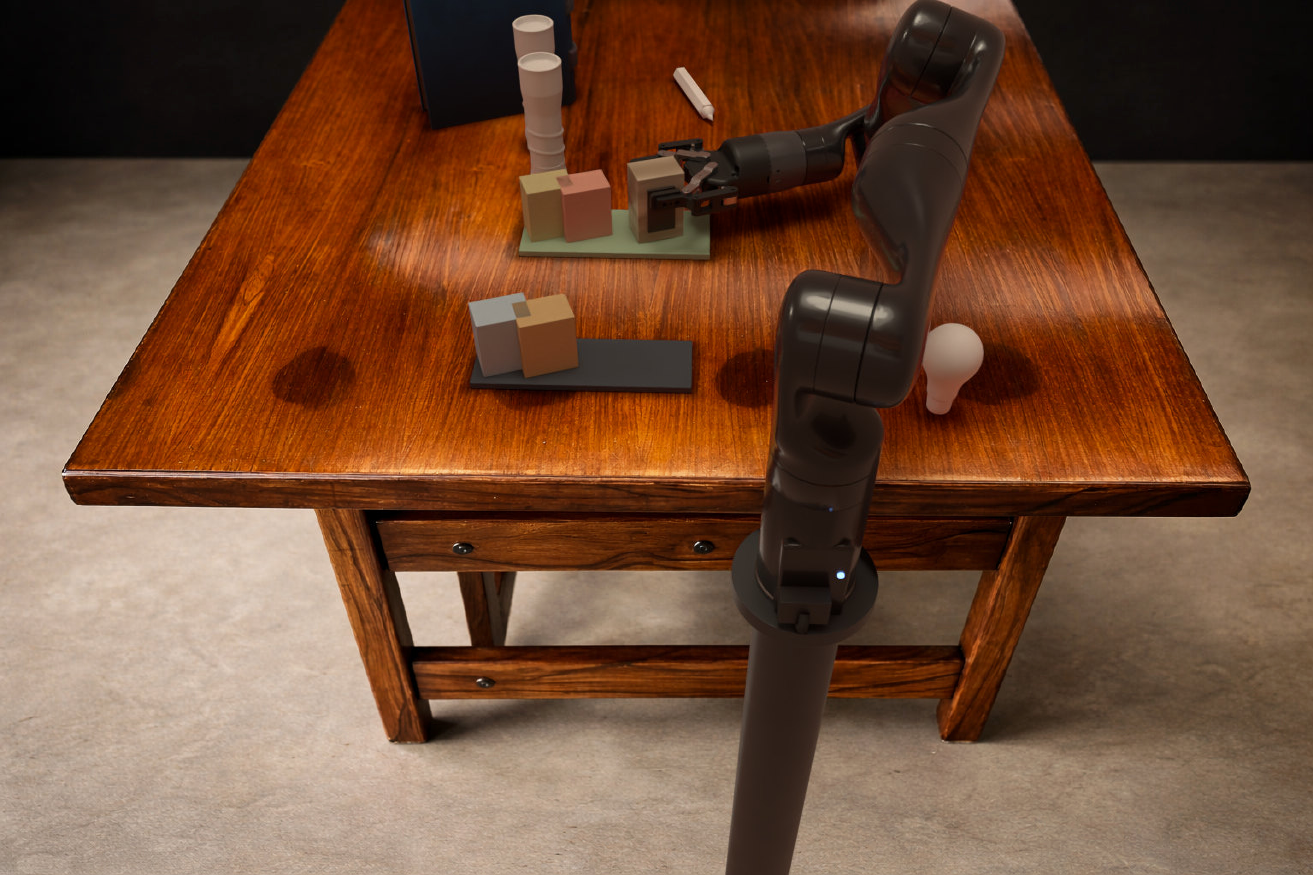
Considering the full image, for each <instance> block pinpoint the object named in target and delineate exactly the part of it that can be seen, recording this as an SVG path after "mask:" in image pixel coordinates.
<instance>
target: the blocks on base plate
mask: <svg viewBox="0 0 1313 875" xmlns="http://www.w3.org/2000/svg"><path fill="white" fill-rule="evenodd" d="M467 305H468V309H469V310H468V311H469V316H470V321H471V328H472V333H473V340H474V346H475V353H476V356H475V360H474V364H473V368H472V372H471V376H470V380H469V386H470V389H490V390H532V391H533V390H535V391H540V390H542V391H574V392H575V391H578V392H579V391H580V392H581V391H582V392H583V391H584V392H619V393H620V392H621V393H623V392H624V393H625V392H627V393H666V394H692V391H693V390H692V385H693V382H692V381H693V377H692V376H693V374H692V373H693V340H672V339H671V340H669V339H625V338H624V339H621V338H619V339H618V338H617V339H616V338H577V327H576V316H575V314H574V311H573V309H572V307H571V305H570V302H569V300H568V298H567V296H566V293H564V292H563V293H558V294H553V295H548V296H542V297H537V298H533V299H532V298H531V299H526V296H525V293H524V292H517V293H512V294H506V295H502V296H497V297H492V298H491V297H490V298H487V299H481V300H475V301H471V302H468V304H467Z"/></svg>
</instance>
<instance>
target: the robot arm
mask: <svg viewBox="0 0 1313 875" xmlns="http://www.w3.org/2000/svg"><path fill="white" fill-rule="evenodd" d="M1006 43H1007V42H1006V37H1005V34H1004V32H1003V31H1002V30H1001V29H1000V27H998V26H997V25H995V24H994V23H993V22H991V21H989V20H987V19H985V18H983V17H980V16H977V15H975V14H974V13H973V14H972V13H970V12H968V11H965V10H964V9H962V8H958V7H957V6H954V5H951V4H949V3H947V2H944V1H942V0H915V1H914V2H913V3H911V4H910V5H909V6H908V7H907V9H906V10H905V11H904V13H903V14H902V16H901V17H900V19H899V21H898V22H897V24H896V26H895V28H894V30H893V32H892V34H891V37H890V38H889V41H888V43H887V46H886V49H885V51H884V54H883V57H882V60H881V63H880V68H879V73H878V77H877V82H876V89H875V95H874V98H873V100H872V102H871V103H869V104H866V105H864V106H862V107H861V108H859V109H857V110H854V111H852V112H851V113H849V114H847V115H845V116H843V117H841V118H838V119H835V120H833V121H829V122H828V123H824V124H821V125H816V126H811V127H805V128H798V129H793V130H775V131H774V130H773V131H768V132H761V133H756V134H755V133H754V134H749V135H743V136H737V137H731V138H727V139H724V140H723V141H722V142H721V144H720V146H719V148H717V149H716V150H709V149H708V150H707V149H706V150H705V148H704V139H703V138H701V137H696V138H689V139H680V140H671V141H666V142H660V143H658V145H657V153H656V154H652V155H646V156H640V157H634V158H630V160H629V162H628V163H632V162H638V161H644V160H650V159H656V158H662V157H668V156H674V158H675V159H676V161H677V162H678V164H679V166H680V167H681V169H682V170H683V172H684V183H687V185H684V188H683V189H682V191H680V189H679V188H677V189H671V190H665V191H660V192H654V193H651V194H650V208H651V210H652V211H663V210H668V209H674V208H680V207H681V208H682V209H684V211H691V215H692V216H694V217H698V216H703V215H708V214H710V215H713V214H716V213H722V212H725V211H730V210H736V209H737V207H738V201H739V200H743V199H748V198H749V199H750V198H754V197H759V196H760V197H761V196H766V195H770V194H776V193H781V192H786V191H789V190H791V189H794V188H795V189H796V188H799V187H804V186H810V185H815V184H822V183H827V182H831V181H834V180H837V178H839V177H840V176H841V175H842V173H843V171H844V168H845V161H846V141H847V140H848V139H849V141H850V145H851V149H852V153H853V157H854V161H855V167H856V170H857V171H856V173H855V175H854V179H853V182H852V185H851V190H850V205H851V210H852V215H853V219H854V220H855V223H856V225H857V228H858V230H859V232H860V234H861V236H862V238H863V239H864V241H865V243H866V244H867V246H868V248H869V250H870V251H871V252H872V254H873V256H874V258H875V259H876V260H877V262H878V264H879V266H880V267H881V269H882V271H883V272H884V274H885V277H886V281H887V283H886V282H882V281H879V280H873V279H868V278H863V277H858V276H853V275H848V274H842V273H838V272H833V271H827V270H822V269H813V268H812V269H806V270H803V271H801V272H800V273H798V274H797V275H796V276H795V277H794V278H793V280H792V281H791V282H790V284H789V286H788V287H787V289H786V291H785V293H784V296H783V297H782V298H783V299H782V301H781V305H780V308H779V312H778V317H777V322H776V328H775V336H774V337H775V338H774V351H773V352H774V353H773V386H772V387H773V389H772V391H773V392H772V405H771V418H770V431H769V432H770V433H769V444H768V452H767V461H766V470H765V479H764V489H763V498H762V507H761V516H760V526H759V528H760V533H759V544H758V554H757V558H756V563H755V577H756V581H757V584H758V586H759V588H760V590H761V591H762V593H763V594H764V595H765V596H766V597H767V598H768V599H769V600H770V601H771V602H772V603H773V606H774V612H775V613H777V616H778V623H794V625H795V628H796V630H797V631H798V632H799V633H802V634H803V633H805V632H807V630H808V627H809V624H828V621H829V616H830V615H841V614H842V610H843V605H844V602H845V601H846V600H847V599H848V598H849V597H850V595H851V593H852V591H853V589H854V585H855V580H856V571H857V566H858V561H859V556H860V551H861V547H862V546H863V542H864V538H865V533H866V528H867V527H866V526H867V523H868V519H869V514H870V510H871V504H872V501H873V500H872V499H873V496H874V492H875V486H876V482H877V478H878V474H879V468H880V464H881V461H882V460H881V459H882V455H883V451H884V447H885V441H886V431H885V424H884V421H883V419H882V417H881V415H880V414H879V411H878V410H877V409H881V410H889V409H894V408H898V406H900V405H901V404H903V403H904V402H905V400H907V399H908V397H909V396H910V394H911V392H912V390H913V389H914V387H915V385H916V383H917V380H918V377H919V375H920V372H921V368H922V366H923V365H922V362H923V359H924V355H925V350H926V346H927V341H928V335H929V333H930V331H931V325H932V324H931V323H932V318H933V313H934V307H935V302H936V295H937V291H938V290H937V289H938V286H939V285H938V284H939V279H940V273H941V270H942V269H941V268H942V264H943V260H944V257H945V252H946V249H947V245H948V243H949V240H950V236H951V233H952V230H953V227H954V224H955V222H956V218H957V215H958V212H959V210H960V206H961V203H962V199H963V195H964V192H965V188H966V184H967V181H968V177H969V170H970V166H971V160H972V156H973V153H974V148H975V144H976V139H977V135H978V132H979V128H980V125H981V122H982V120H983V117H984V114H985V111H986V109H987V106H988V103H989V100H990V99H991V96H992V94H993V92H994V91H993V90H994V88H995V86H996V83H997V80H998V78H999V75H1000V71H1001V69H1002V66H1003V63H1004V59H1005V55H1006V46H1007V45H1006ZM672 150H675V151H672ZM707 201H708V204H707V205H703V206H702V204H703V203H704V202H707Z"/></svg>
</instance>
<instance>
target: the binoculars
mask: <svg viewBox="0 0 1313 875" xmlns="http://www.w3.org/2000/svg"><path fill="white" fill-rule="evenodd" d="M512 26H513V32H514V42H515V50H516V55H517V59H518V67H519V78H520V88H521V93H522V97H523V103H522V104H523V106H524V111H525V113H524V124H525V127H524V136H525V139H526V143H527V144H526V145H527V150H528V151H529V154H530V175H531V174H537V173H543V172H549V171H555V170H562V169H566V171H567V172H568V169H567V166H566V158H565V150H566V145H565V143H564V136H563V134H564V131H565V129H564V127H563V121H562V106H561V102H562V88H563V85H562V71H561V59H560V58H559V57H558V56H557V55H555V54H554V51H555V44H554V30H553V21H552V20H551V19H550V18H549V17H546V16H542V15H527V16H522V17H520V18H517V19H516V20H515V21H514V22H513V24H512Z"/></svg>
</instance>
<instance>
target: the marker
mask: <svg viewBox="0 0 1313 875" xmlns="http://www.w3.org/2000/svg"><path fill="white" fill-rule="evenodd" d="M672 76H673V77H674V79H675V81H676V83H677V84H678V85H679V87H680V88H681V90H682V91H683V92H684V94H685V95H686V97H687V98H688V100H689V101H690V102H691V103H692V105H693V107H694V108H695V109H696V111H697V112H698V113H699V115H700V116H701V117H702V119H708V120H709V121H712V122H713V121H714V113H715V111H716V109H715V108H714V106H713V104H712V103H711V101H710V100H709V98H708V97H707V96H706V94H704V92H703V91H702V89H701V88H700V87H699V86H698V83H696V81H695V80H694V79H693V77H692V76H691V74H690V73H689V72H688V71H687V69H686V68H685V67H684V66H683V67H676V69H675V71H674V72H673V75H672Z"/></svg>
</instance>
